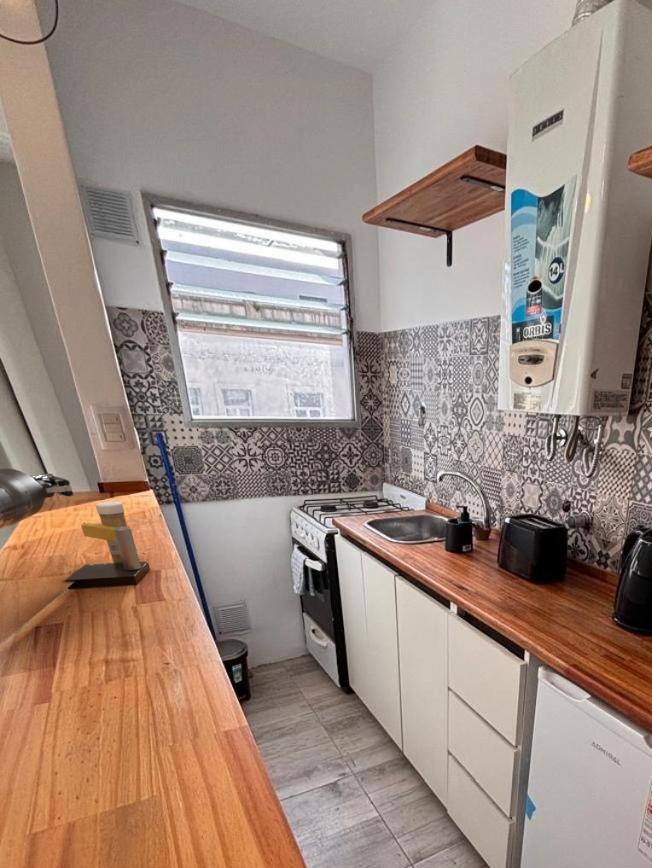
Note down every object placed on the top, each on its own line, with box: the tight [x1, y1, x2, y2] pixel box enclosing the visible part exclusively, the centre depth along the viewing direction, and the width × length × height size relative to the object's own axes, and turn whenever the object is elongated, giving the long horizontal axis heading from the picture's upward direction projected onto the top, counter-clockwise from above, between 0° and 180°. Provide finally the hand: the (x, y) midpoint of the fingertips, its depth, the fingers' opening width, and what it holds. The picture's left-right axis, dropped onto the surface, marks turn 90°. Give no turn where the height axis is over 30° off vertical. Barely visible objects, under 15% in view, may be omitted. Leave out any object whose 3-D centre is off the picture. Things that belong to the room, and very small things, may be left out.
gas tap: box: [80, 522, 141, 570], centre depth 104 cm, size 12×3×8 cm, turn 68°
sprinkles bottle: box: [95, 501, 128, 563], centre depth 108 cm, size 5×5×13 cm
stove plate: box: [64, 560, 151, 590], centre depth 103 cm, size 12×10×2 cm
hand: (49, 479), depth 92 cm, fingers closed
